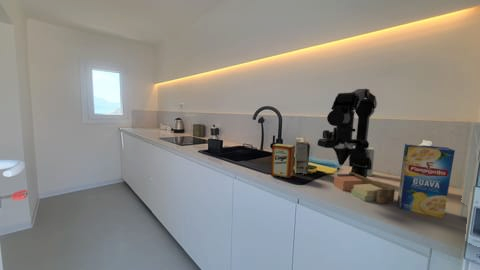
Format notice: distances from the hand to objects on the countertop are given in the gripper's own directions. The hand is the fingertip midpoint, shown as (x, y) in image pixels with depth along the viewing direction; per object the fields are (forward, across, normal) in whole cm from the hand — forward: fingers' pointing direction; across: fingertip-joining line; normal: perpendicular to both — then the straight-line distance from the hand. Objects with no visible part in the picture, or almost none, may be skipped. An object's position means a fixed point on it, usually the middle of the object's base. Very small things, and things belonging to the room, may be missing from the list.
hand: (340, 164), depth 77 cm
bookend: (+12, -10, -11) cm, 19 cm away
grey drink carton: (+12, +1, -29) cm, 31 cm away
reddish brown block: (+12, -9, -5) cm, 16 cm away
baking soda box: (+12, +14, -24) cm, 30 cm away
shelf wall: (+12, -13, -1) cm, 17 cm away
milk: (+12, -41, 0) cm, 43 cm away
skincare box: (+12, -33, -23) cm, 42 cm away
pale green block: (+12, -10, +4) cm, 16 cm away
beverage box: (+12, -20, +15) cm, 28 cm away
